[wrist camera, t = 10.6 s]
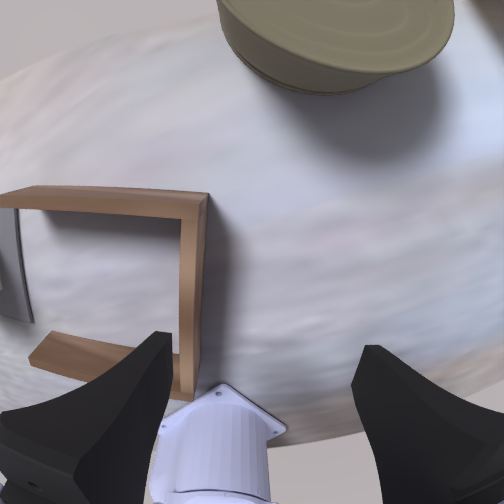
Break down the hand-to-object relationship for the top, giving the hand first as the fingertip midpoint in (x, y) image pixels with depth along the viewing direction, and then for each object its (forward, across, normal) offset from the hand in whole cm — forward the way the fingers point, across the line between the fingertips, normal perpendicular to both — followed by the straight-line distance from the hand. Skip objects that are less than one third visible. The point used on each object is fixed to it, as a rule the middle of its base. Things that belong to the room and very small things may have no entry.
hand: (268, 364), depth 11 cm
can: (+10, -2, -17) cm, 20 cm away
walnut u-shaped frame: (+9, +10, +2) cm, 14 cm away
